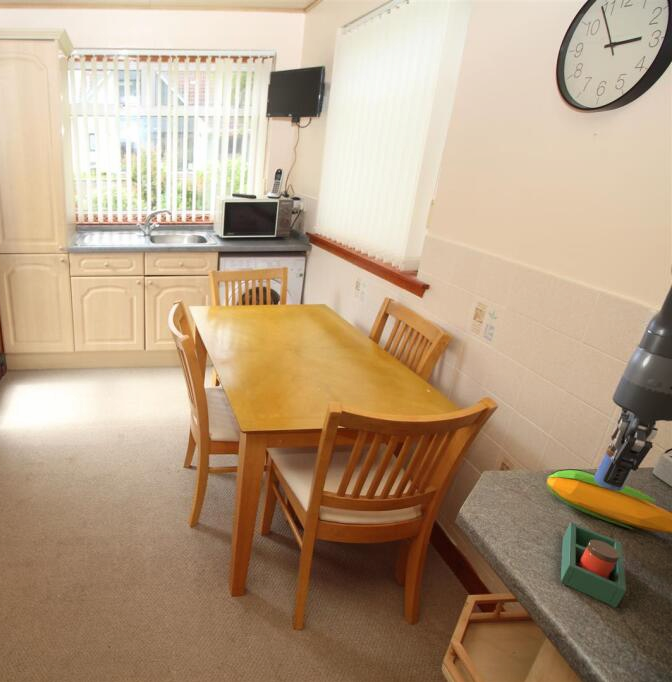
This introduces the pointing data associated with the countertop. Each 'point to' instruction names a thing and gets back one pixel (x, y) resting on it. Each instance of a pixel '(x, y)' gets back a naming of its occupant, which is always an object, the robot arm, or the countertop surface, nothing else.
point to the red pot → (599, 558)
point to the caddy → (584, 579)
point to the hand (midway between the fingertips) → (611, 477)
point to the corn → (608, 501)
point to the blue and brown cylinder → (604, 466)
